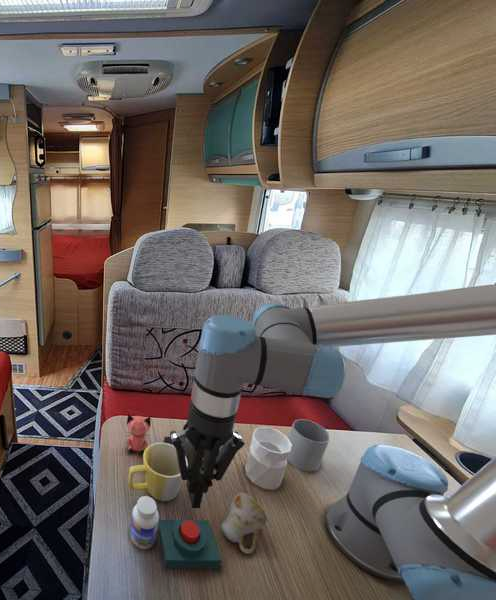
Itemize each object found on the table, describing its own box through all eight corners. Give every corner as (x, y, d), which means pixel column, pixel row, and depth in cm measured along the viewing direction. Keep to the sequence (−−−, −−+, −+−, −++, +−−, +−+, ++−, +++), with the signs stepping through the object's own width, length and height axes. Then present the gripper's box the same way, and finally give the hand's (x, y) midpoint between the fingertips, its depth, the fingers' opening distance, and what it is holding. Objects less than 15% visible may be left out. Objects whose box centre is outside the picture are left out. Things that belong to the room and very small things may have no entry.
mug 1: (177, 473, 85) (182, 442, 81) (187, 510, 76) (192, 478, 72) (125, 471, 85) (127, 440, 82) (128, 509, 76) (130, 476, 72)
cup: (326, 472, 86) (337, 443, 83) (294, 471, 87) (304, 442, 83) (307, 447, 94) (316, 419, 91) (278, 446, 94) (287, 418, 91)
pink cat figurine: (123, 456, 90) (125, 422, 85) (124, 438, 96) (126, 405, 92) (149, 460, 89) (152, 425, 85) (148, 441, 95) (152, 408, 91)
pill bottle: (126, 542, 69) (129, 511, 65) (134, 519, 74) (137, 488, 70) (152, 554, 67) (156, 522, 63) (158, 530, 72) (162, 498, 68)
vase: (287, 479, 84) (299, 443, 80) (269, 496, 80) (280, 459, 75) (255, 456, 91) (264, 422, 87) (237, 471, 86) (245, 435, 82)
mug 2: (209, 531, 72) (221, 486, 72) (236, 529, 77) (247, 486, 77) (239, 557, 65) (252, 507, 66) (266, 553, 70) (278, 506, 71)
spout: (187, 435, 94) (191, 414, 91) (197, 439, 93) (200, 417, 90) (180, 455, 88) (184, 432, 85) (190, 459, 86) (194, 436, 84)
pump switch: (206, 526, 72) (209, 514, 71) (219, 567, 65) (223, 554, 64) (157, 526, 72) (159, 514, 71) (164, 567, 65) (166, 554, 63)
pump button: (195, 525, 69) (196, 520, 68) (200, 543, 66) (201, 538, 65) (178, 525, 69) (179, 520, 68) (182, 543, 66) (183, 538, 65)
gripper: (242, 391, 59) (220, 485, 68) (170, 389, 59) (157, 484, 67) (262, 420, 52) (234, 521, 61) (180, 419, 52) (164, 520, 60)
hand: (194, 501), depth 64 cm, fingers closed
